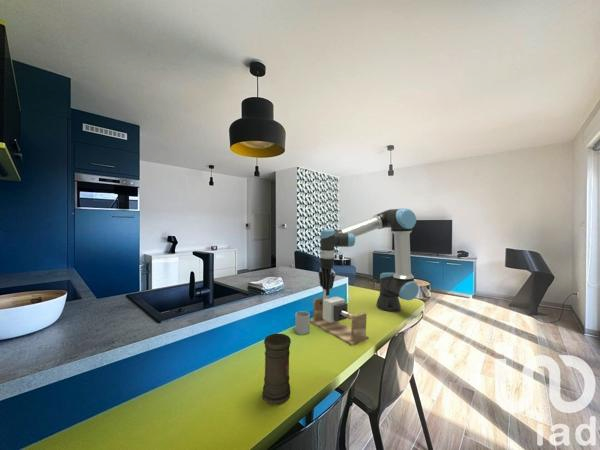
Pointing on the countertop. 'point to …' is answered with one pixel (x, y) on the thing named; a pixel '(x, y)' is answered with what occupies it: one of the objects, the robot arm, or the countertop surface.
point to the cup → (302, 322)
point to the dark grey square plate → (336, 311)
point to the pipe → (342, 312)
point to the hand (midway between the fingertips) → (325, 300)
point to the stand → (340, 325)
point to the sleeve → (330, 307)
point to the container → (276, 369)
